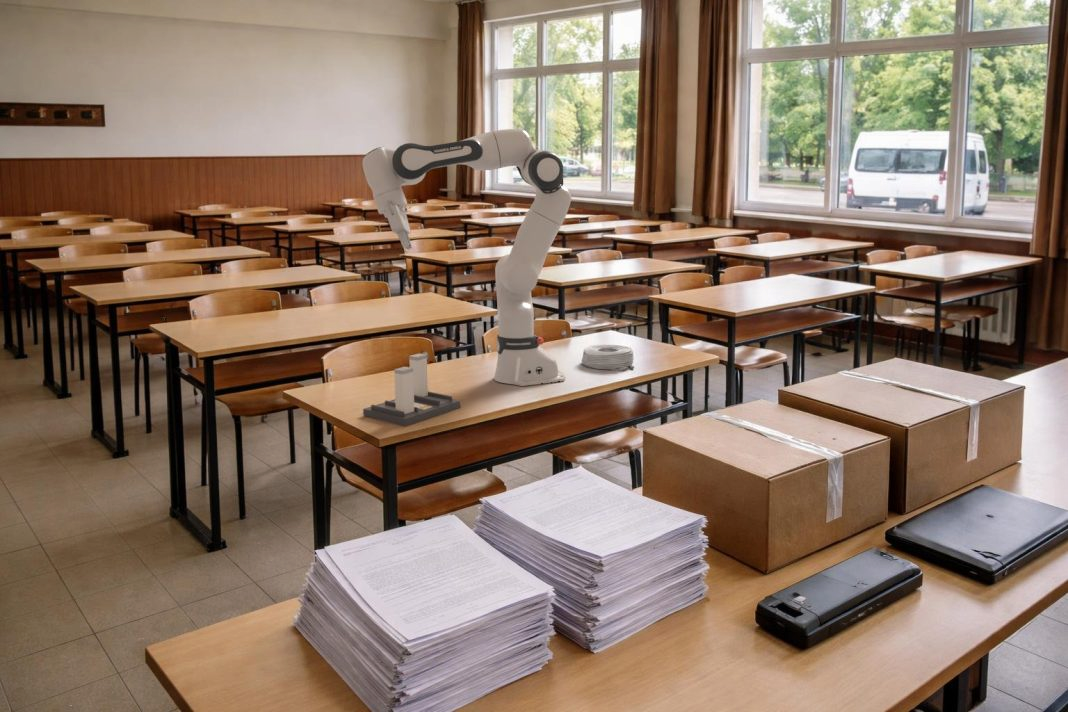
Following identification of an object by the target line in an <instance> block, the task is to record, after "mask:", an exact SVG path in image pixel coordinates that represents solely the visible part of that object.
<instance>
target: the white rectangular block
mask: <svg viewBox="0 0 1068 712" xmlns="http://www.w3.org/2000/svg"><path fill="white" fill-rule="evenodd" d="M393 372H394V396H395V397H394V398H395V402H396V410H398V411H403V412H404V414H407V413H410V412H413V411H414V383H413V368H410V366H402V367H398V368H394V371H393Z"/></svg>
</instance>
